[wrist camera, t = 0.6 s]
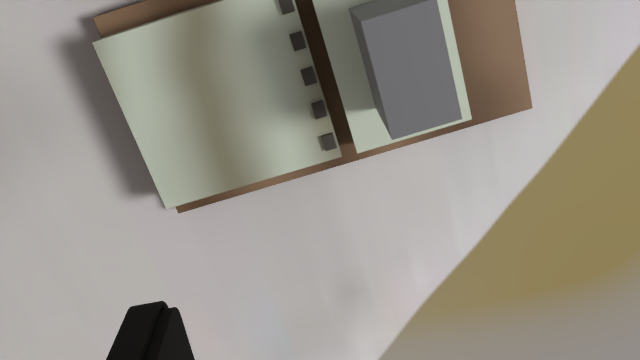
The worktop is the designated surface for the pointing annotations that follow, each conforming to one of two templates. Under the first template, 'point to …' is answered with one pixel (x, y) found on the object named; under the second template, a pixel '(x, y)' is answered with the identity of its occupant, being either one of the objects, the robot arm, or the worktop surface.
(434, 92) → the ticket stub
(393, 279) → the worktop surface
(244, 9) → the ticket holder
